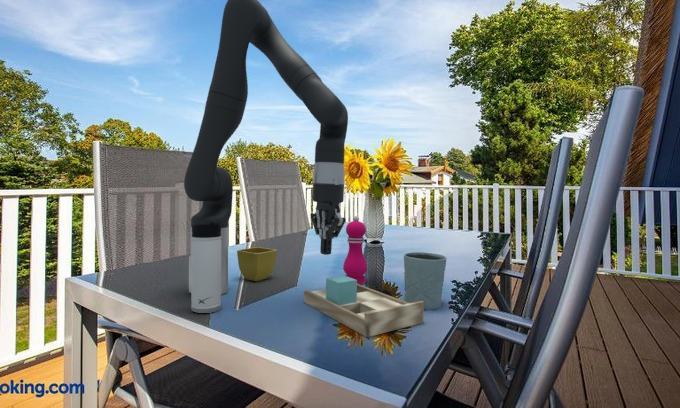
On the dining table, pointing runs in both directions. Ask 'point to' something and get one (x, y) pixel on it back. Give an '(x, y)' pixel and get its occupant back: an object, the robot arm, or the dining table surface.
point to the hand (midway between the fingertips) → (325, 254)
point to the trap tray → (369, 311)
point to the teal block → (341, 290)
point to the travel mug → (206, 268)
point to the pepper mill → (355, 251)
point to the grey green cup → (424, 278)
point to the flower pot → (256, 262)
